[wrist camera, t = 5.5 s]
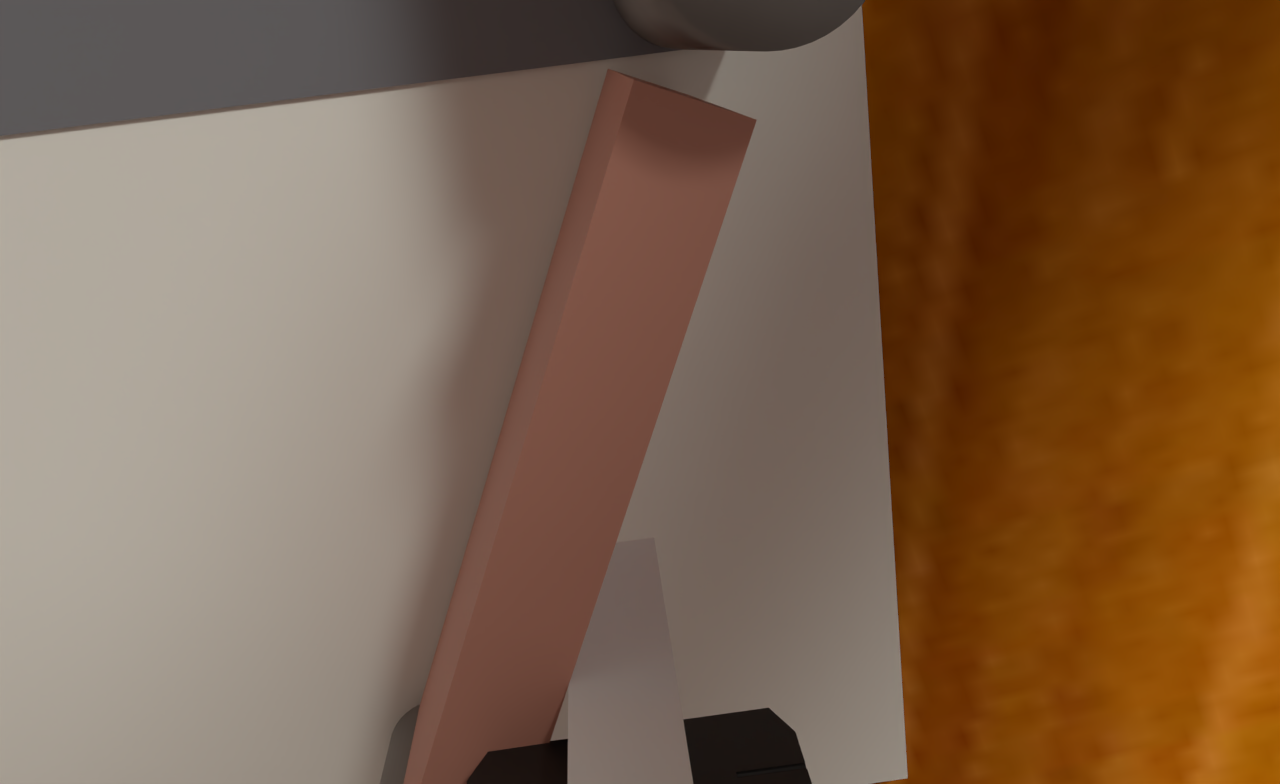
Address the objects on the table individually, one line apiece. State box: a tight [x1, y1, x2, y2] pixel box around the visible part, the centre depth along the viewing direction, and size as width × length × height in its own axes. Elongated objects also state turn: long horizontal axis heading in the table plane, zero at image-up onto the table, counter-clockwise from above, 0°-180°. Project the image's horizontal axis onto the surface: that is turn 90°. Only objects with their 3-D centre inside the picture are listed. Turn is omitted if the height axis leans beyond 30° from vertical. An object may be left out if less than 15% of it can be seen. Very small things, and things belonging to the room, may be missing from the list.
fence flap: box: [380, 69, 757, 784], centre depth 14 cm, size 12×2×7 cm, turn 162°
